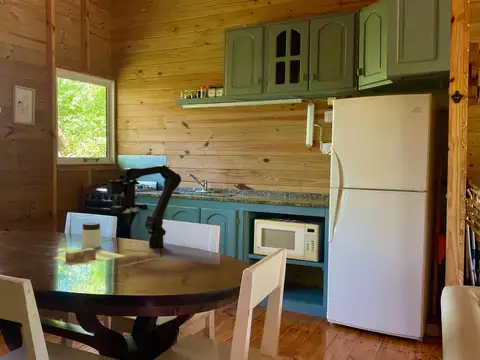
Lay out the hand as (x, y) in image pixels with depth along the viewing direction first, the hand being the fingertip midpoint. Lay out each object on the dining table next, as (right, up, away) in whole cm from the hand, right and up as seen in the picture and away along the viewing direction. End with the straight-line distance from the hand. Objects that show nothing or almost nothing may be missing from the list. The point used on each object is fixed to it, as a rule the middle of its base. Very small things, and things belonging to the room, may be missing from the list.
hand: (129, 226), depth 216 cm
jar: (-20, -11, +6) cm, 24 cm away
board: (-13, -12, -17) cm, 25 cm away
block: (-12, -10, -18) cm, 24 cm away
